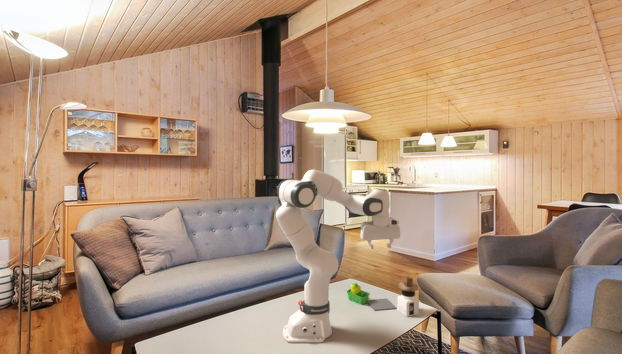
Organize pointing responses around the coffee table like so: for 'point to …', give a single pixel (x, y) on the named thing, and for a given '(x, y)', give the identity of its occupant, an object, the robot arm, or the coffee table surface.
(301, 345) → the coffee table surface
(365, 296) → the fruit basket
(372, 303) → the mat
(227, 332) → the coffee table surface
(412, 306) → the container
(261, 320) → the coffee table surface
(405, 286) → the lid
